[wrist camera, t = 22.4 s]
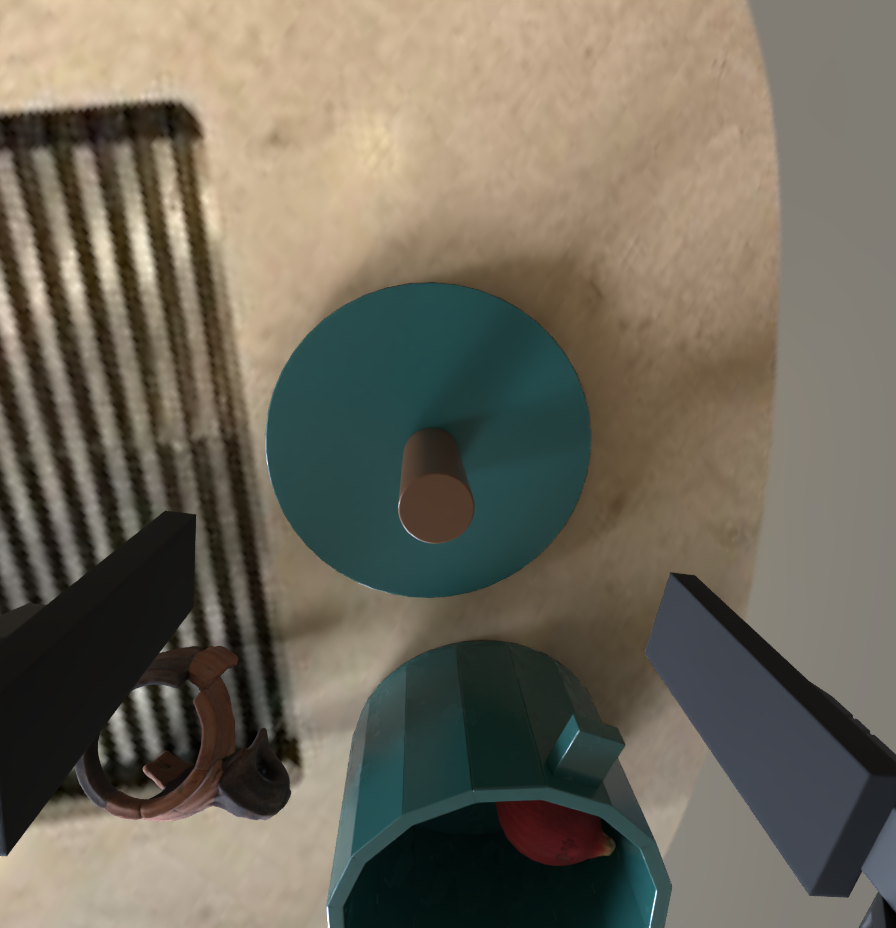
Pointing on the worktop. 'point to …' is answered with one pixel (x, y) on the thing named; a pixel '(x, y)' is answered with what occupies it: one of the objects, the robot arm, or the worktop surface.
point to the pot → (486, 801)
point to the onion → (553, 832)
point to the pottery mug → (210, 781)
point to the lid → (428, 440)
